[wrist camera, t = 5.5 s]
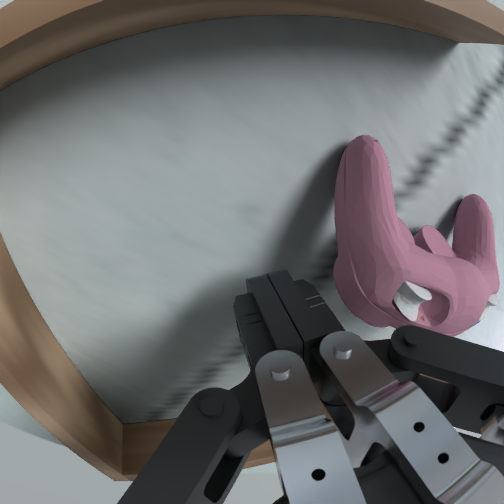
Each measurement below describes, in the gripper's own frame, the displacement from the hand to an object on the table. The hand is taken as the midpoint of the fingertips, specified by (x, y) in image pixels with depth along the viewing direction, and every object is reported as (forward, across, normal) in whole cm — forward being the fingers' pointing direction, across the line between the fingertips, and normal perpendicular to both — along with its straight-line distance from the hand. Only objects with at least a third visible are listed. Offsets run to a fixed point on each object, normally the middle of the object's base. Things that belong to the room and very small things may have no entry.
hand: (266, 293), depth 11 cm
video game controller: (+2, -7, -1) cm, 8 cm away
